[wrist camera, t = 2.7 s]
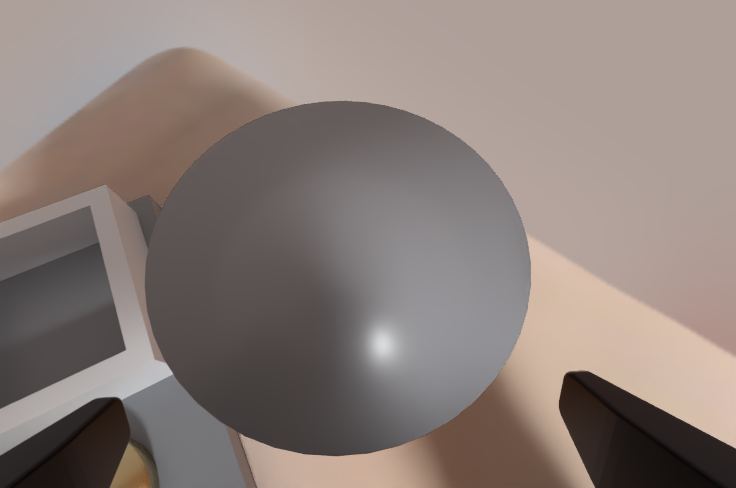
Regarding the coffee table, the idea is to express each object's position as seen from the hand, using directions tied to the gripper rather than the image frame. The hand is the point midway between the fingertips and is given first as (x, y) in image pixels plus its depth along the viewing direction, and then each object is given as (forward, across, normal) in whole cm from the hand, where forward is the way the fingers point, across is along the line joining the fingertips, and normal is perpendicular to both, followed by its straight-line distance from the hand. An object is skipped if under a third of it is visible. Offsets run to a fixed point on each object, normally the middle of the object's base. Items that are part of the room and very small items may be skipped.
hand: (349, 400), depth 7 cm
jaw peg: (+8, 0, +5) cm, 9 cm away
